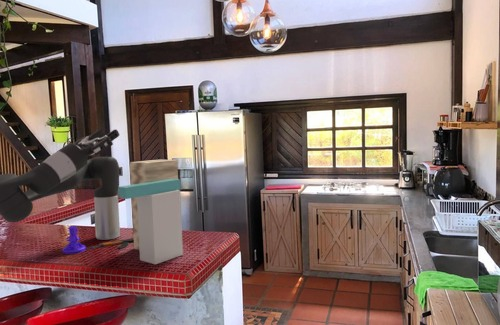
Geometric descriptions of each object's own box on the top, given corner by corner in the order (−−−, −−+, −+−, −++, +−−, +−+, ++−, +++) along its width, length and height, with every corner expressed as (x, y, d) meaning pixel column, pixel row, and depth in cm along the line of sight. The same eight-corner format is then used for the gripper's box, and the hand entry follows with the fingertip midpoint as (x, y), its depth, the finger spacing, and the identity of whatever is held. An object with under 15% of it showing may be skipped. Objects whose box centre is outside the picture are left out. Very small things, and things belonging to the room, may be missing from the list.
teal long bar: (118, 197, 124) (118, 186, 124) (172, 188, 141) (172, 178, 141) (126, 198, 122) (125, 187, 122) (180, 189, 139) (180, 179, 139)
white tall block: (140, 260, 134) (136, 193, 132) (167, 250, 143) (164, 188, 141) (155, 264, 129) (151, 195, 127) (183, 254, 138) (180, 190, 136)
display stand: (134, 248, 147) (129, 162, 145) (163, 239, 158) (160, 159, 156) (151, 253, 141) (146, 163, 138) (180, 243, 152) (177, 160, 149)
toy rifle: (79, 254, 139) (74, 247, 148) (79, 258, 140) (75, 251, 148) (170, 238, 157) (162, 232, 165) (170, 241, 157) (162, 236, 166)
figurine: (59, 257, 143) (55, 230, 141) (68, 248, 151) (65, 223, 149) (81, 256, 143) (77, 229, 141) (89, 247, 151) (86, 222, 149)
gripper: (70, 152, 102) (117, 120, 113) (44, 151, 111) (89, 122, 121) (86, 175, 106) (129, 142, 116) (59, 173, 115) (102, 142, 125)
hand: (109, 132), depth 119 cm, fingers open, 8 cm apart
